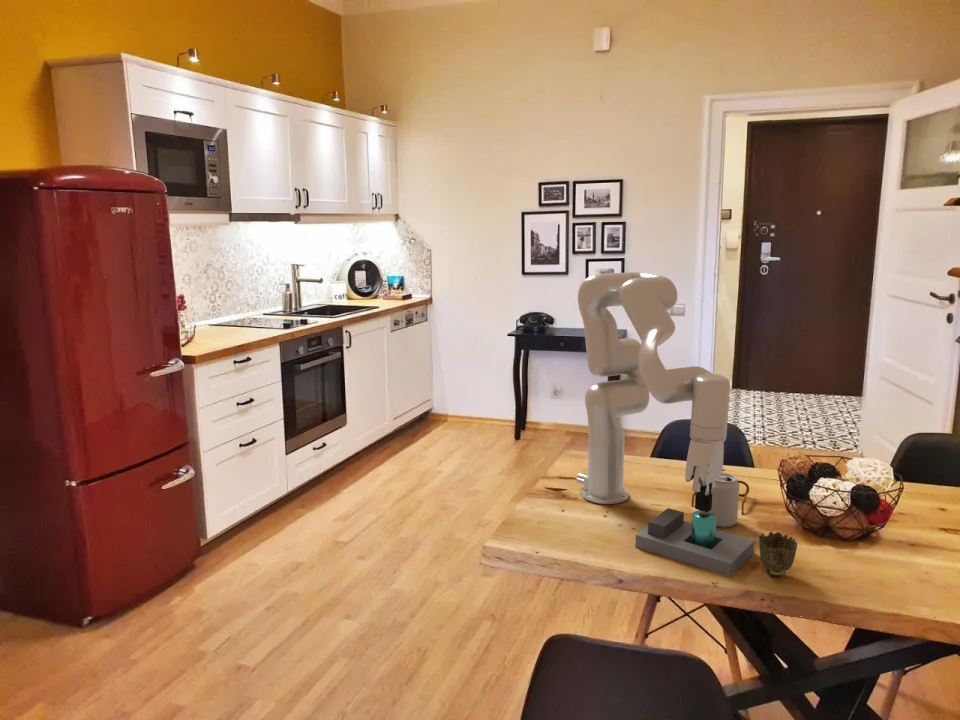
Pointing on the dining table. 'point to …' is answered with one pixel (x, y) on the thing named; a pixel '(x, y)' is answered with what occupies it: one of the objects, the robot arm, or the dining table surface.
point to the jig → (674, 542)
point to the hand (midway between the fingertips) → (702, 509)
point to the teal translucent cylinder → (703, 529)
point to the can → (725, 500)
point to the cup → (777, 553)
